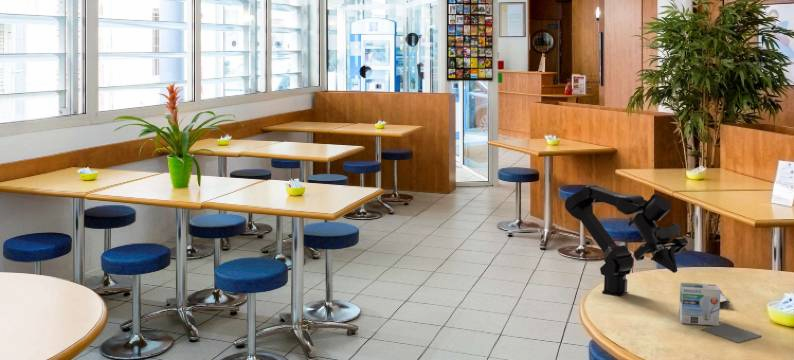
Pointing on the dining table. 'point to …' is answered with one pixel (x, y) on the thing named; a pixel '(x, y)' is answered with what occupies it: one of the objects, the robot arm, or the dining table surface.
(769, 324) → the dining table surface
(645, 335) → the dining table surface
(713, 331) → the rubber mat
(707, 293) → the light bulb box
